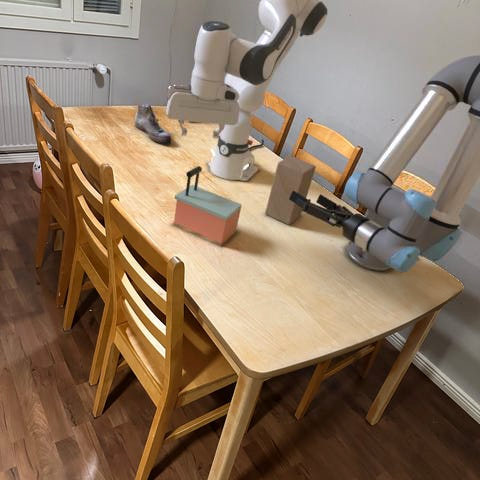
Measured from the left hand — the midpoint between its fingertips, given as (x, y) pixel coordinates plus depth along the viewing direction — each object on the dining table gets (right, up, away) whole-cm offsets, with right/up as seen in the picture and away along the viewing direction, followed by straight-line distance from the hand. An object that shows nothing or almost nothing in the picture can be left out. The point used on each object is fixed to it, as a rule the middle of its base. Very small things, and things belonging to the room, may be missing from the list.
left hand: (199, 136), depth 127 cm
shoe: (-27, +17, +71) cm, 78 cm away
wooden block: (+27, -21, +31) cm, 46 cm away
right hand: (+31, -17, +4) cm, 35 cm away
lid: (+2, -19, +9) cm, 21 cm away
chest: (0, -26, +13) cm, 29 cm away
